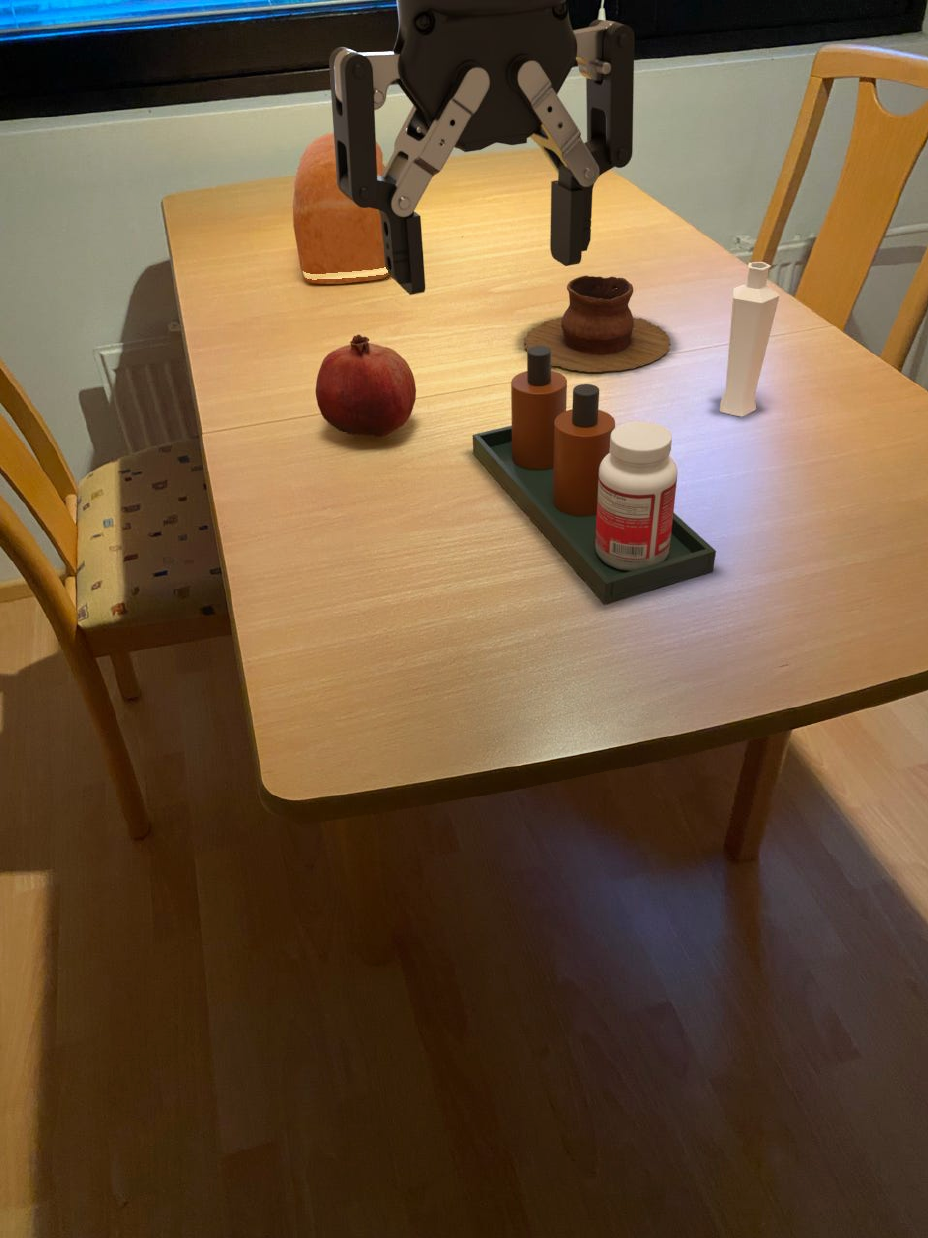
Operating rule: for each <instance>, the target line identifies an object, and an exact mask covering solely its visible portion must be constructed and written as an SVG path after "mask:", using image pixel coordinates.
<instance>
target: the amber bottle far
mask: <svg viewBox="0 0 928 1238" xmlns="http://www.w3.org/2000/svg"><path fill="white" fill-rule="evenodd" d="M526 350H527V351H526V368H527V369H526V371H523V372H520V373H518V374H515V376H514V377H513V378H512V379H511V381H510V398H511V399H510V400H511V402H510V403H511V404H510V405H511V407H510V408H511V411H510V412H511V426H512V459H513V461H514V462H515V463H516V464H517V465H518V466H520V467H523V468H526V469H530V470H546V469H551V468H554V424H555V419H556V417H557V416H558V415H559V414H561V413H563V412H565V411H567V401H568V399H567V396H568V380H567V378H566V376H565V375H563V374H562V373H559V372H557V371H554V370H552V366H551V349H550V348H548V347H546V346H534V347H531V348H529V349H526Z"/></svg>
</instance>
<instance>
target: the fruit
mask: <svg viewBox="0 0 928 1238" xmlns="http://www.w3.org/2000/svg"><path fill="white" fill-rule="evenodd" d="M315 397H316V403H317V406H318V410H319V412H320V414H321V416H322V417H323V419H324V420H325V421H326V422H327V423H328V424H329V425H330V426H331V427H333V428H334V429H335V430H338V431H339V432H341V433H345V434H348V435H353V436H363V437H364V436H365V437H374V438H375V437H376V438H379V437H383V436H386V435H389V434H391V433H393V432H395V431H397V430H399V429H401V428H402V427H403V426H404V424H405V423H406V422H407V421H408V420H409V419H410V417H411V415H412V412H413V409H414V406H415V404H416V400H417V399H416V398H417V386H416V381H415V377H414V373H413V372H412V369H411V368H410V365H409V364H408V362H407V360H406V359H405V358H404V357H402V356H401V354H399V352H397V351H396V350H394V349H392V348H390V347H387V346H383V345H380V344H375V343H372V342H370V339H369V337H368V336H363V335H361V334H357V335H353V337H352V339H351V340H350V342H349V344H347V345H344V346H341V347H339V348H337V349H334V350H332V351H330V352H329V353H327V355H326V356H325V357H324V358H323V360H322V362H321V364H320V367H319V369H318V373H317V377H316V383H315Z"/></svg>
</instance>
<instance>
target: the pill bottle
mask: <svg viewBox="0 0 928 1238" xmlns="http://www.w3.org/2000/svg"><path fill="white" fill-rule="evenodd" d="M672 439H673V436H672V432H671V431H670V430H669V429H668V428H667V427H666V426H664V425H662V424H659V423H656V422H651V421H644V420H641V421H640V420H638V421H629V422H625V423H623V424H622V423H621V424H620V425H618V426H615V429H614V430H613V431H612V433H611V438H610V453H609V454H608V455H606V456H605V457H604V459H603V460H602V462H601V464H600V468H599V478H598V500H597V520H596V552H597V554H598V556H599V557H600V559H601V560H602V561H604V562H605V563H606V564H608V565H609V566H611V567H614V568H616V569H620V570H626V571H633V570H637V569H640V568H643V567H647V566H650V565H654V564H657V563H660V562H663V561H664V560H665V559H666V557H667V555H668V553H669V548H670V540H671V530H672V521H673V512H674V513H675V511H674V510H675V503H676V502H675V501H676V492H677V482H678V467H677V464H676V462H675V459H673V457H671V451H672V442H673V440H672Z"/></svg>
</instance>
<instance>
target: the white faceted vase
mask: <svg viewBox="0 0 928 1238" xmlns="http://www.w3.org/2000/svg"><path fill="white" fill-rule="evenodd" d="M747 267H748V273H747V281H746V283H743V284H742V285H741V284H740V285H739V286H736V287H734V288H733V292H732V303H731V314H730V315H731V317H730V328H729V339H728V340H729V341H728V353H727V364H726V376H725V377H726V379H725V389H724V393H723V395H722V398H721V401H720V404H719V412H720V413H722V414H727V415H732V416H736V417H740V418H741V417H742V418H743V417H746V416H747V415H749V414H751V413H753V412H754V411H756V410H757V406H756V405H757V404H756V403H757V402H756V392H757V388H758V383H759V379H760V376H761V372H762V368H763V365H764V364H763V363H764V360H765V357H766V352H767V348H768V344H769V340H770V336H771V332H772V328H773V325H774V320H775V316H776V312H777V309H778V304H779V301H780V296H781V294H779V293H778V292H777V291H775V290H774V289H772V288H770V287H769V286H767V283H768V276H769V270H770V269H771V267H772V265H771V264H769V263H766V262H764V261H753V262H752V261H751V262H748V265H747Z"/></svg>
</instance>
